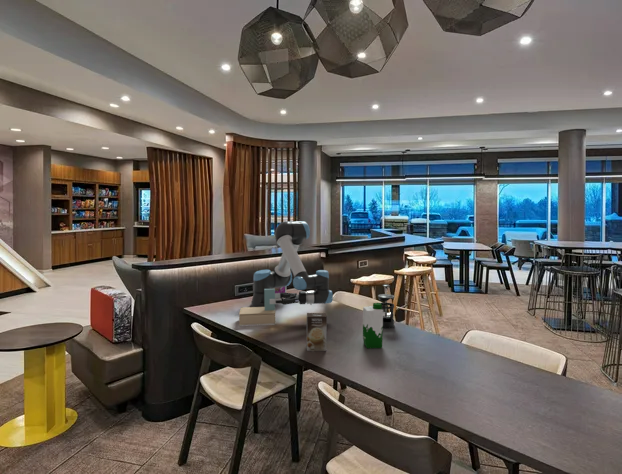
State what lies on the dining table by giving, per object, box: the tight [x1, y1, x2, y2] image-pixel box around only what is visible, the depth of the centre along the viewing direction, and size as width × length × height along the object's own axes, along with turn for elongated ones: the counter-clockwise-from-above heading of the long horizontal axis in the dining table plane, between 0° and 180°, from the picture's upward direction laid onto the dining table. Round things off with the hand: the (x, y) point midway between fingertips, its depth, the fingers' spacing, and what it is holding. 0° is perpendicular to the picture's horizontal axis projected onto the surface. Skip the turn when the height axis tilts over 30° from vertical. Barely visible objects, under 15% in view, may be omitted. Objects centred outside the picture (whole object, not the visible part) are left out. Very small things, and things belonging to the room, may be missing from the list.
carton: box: [238, 313, 276, 327], centre depth 211 cm, size 20×14×6 cm
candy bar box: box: [271, 286, 287, 294], centre depth 280 cm, size 11×5×16 cm, turn 84°
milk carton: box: [362, 302, 384, 349], centre depth 172 cm, size 9×9×20 cm
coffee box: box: [305, 312, 328, 352], centre depth 168 cm, size 9×6×16 cm
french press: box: [377, 284, 395, 329], centre depth 202 cm, size 12×9×23 cm
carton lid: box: [238, 289, 276, 316], centre depth 210 cm, size 20×14×12 cm
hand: (269, 298), depth 210 cm, fingers open, 13 cm apart
